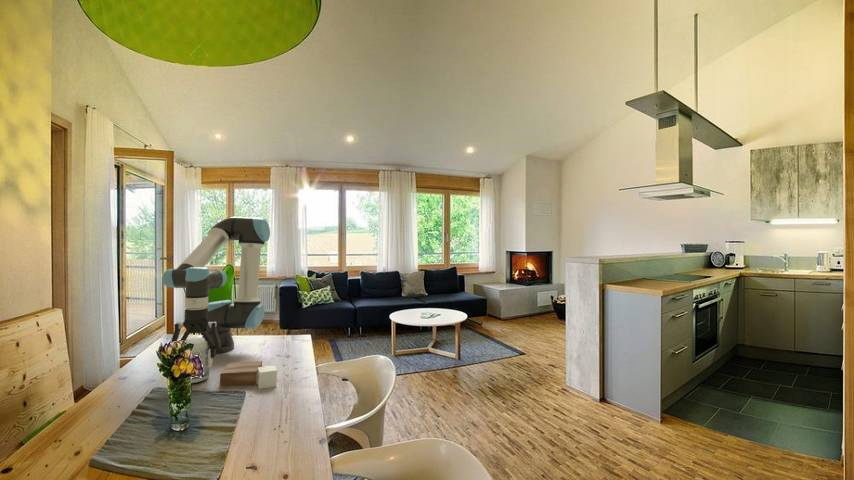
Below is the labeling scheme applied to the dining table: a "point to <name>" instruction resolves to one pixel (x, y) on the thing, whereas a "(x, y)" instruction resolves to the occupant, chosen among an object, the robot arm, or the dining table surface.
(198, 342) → the supplement tub
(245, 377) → the walnut block
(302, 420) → the dining table surface
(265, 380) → the cream cube
